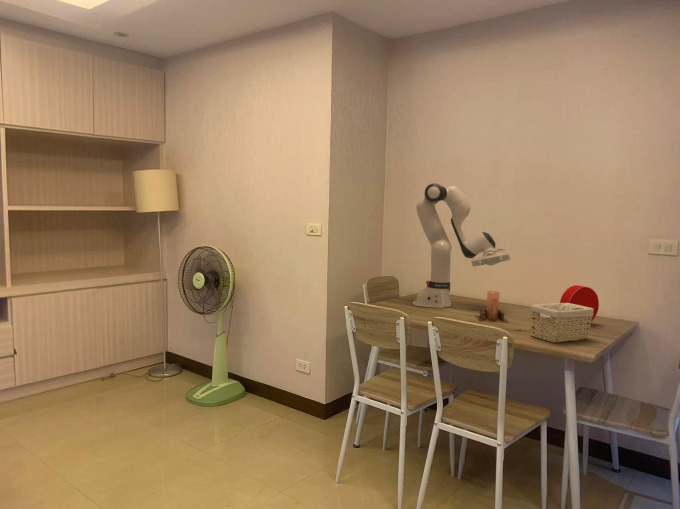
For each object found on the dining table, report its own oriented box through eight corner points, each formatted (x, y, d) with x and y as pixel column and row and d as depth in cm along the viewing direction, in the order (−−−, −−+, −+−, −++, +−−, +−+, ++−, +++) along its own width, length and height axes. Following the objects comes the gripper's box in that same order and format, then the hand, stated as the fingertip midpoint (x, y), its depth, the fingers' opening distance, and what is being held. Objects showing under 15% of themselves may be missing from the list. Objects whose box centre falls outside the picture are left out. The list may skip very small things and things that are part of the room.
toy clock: (588, 322, 271) (590, 284, 269) (597, 325, 265) (600, 286, 263) (558, 324, 263) (560, 285, 262) (566, 327, 258) (569, 287, 256)
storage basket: (564, 331, 249) (566, 301, 248) (593, 340, 235) (596, 307, 233) (526, 336, 239) (528, 304, 237) (555, 345, 224) (557, 311, 223)
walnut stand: (479, 324, 260) (479, 313, 260) (474, 317, 275) (474, 307, 275) (510, 325, 259) (510, 315, 259) (503, 318, 274) (504, 309, 273)
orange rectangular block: (487, 321, 262) (489, 293, 261) (484, 317, 270) (486, 290, 269) (500, 321, 261) (501, 294, 260) (496, 318, 270) (498, 291, 268)
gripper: (470, 255, 295) (469, 260, 282) (507, 248, 288) (508, 252, 275) (472, 266, 295) (472, 271, 282) (510, 259, 289) (511, 264, 276)
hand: (490, 262), depth 279 cm, fingers open, 8 cm apart
